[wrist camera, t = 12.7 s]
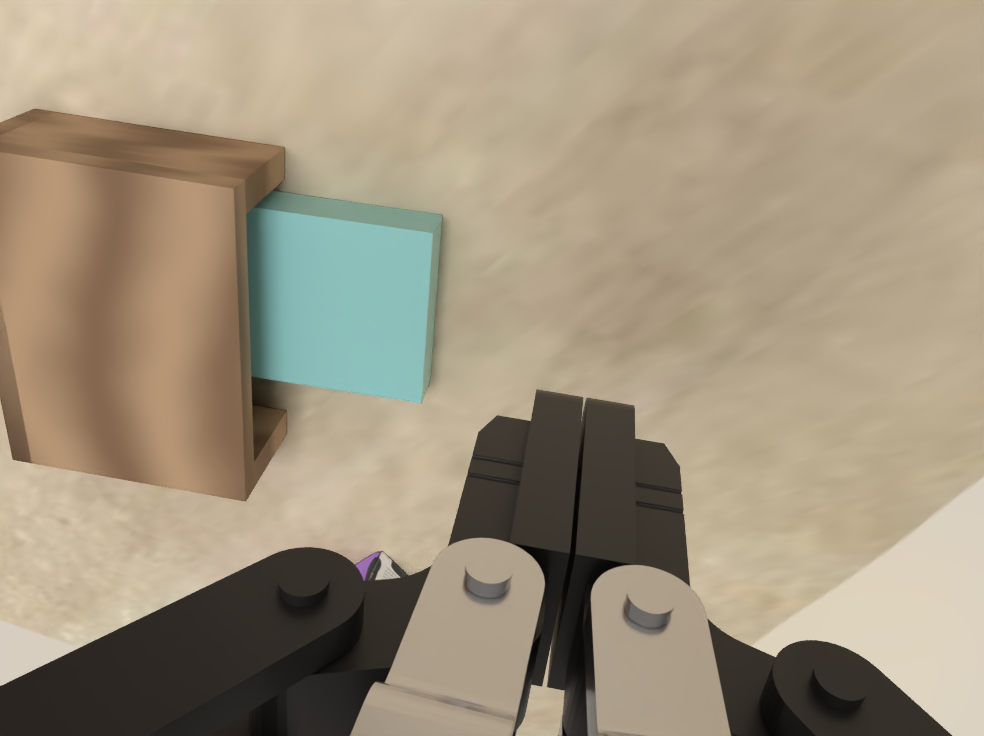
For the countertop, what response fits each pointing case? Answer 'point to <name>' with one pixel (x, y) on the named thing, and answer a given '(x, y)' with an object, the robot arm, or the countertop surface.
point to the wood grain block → (131, 302)
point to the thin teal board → (342, 294)
